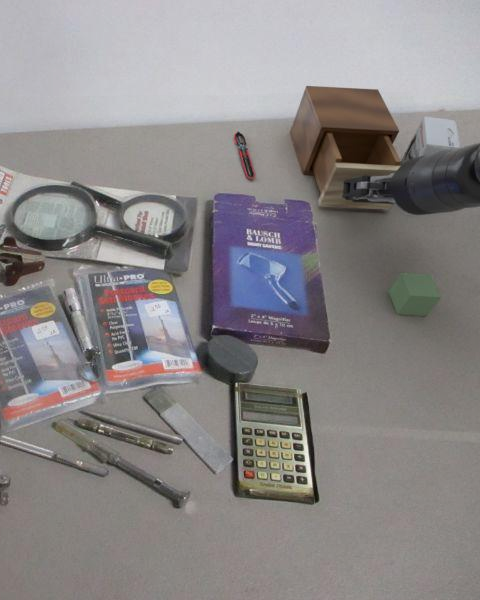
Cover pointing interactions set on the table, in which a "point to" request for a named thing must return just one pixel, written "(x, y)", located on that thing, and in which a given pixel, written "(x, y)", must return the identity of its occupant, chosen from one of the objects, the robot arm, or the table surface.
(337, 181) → the drawer
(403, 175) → the robot arm
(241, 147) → the red black pliers
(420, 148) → the ink box
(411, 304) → the block
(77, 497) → the table surface
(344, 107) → the cabinet
